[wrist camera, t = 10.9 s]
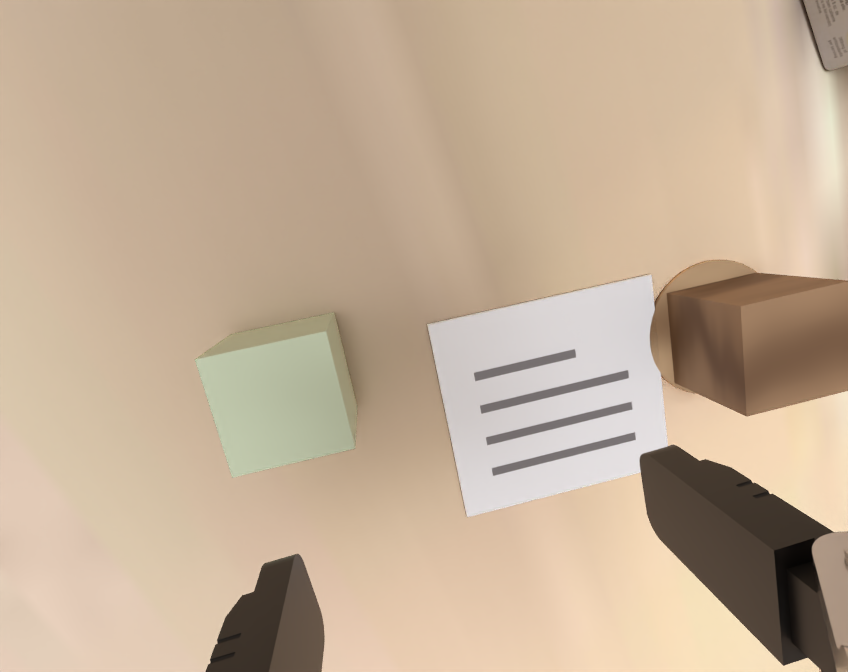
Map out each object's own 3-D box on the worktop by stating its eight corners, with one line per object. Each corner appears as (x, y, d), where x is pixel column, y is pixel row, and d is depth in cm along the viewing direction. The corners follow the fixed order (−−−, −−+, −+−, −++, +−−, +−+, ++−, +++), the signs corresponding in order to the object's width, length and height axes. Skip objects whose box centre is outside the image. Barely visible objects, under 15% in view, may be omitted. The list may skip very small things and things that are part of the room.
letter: (426, 324, 26) (427, 325, 26) (648, 274, 27) (651, 274, 27) (466, 514, 29) (467, 517, 28) (666, 462, 30) (669, 465, 29)
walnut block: (666, 293, 27) (740, 306, 22) (754, 272, 27) (848, 281, 22) (674, 382, 28) (746, 416, 23) (759, 362, 29) (849, 390, 23)
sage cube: (231, 333, 25) (194, 359, 20) (334, 311, 25) (326, 331, 20) (259, 429, 26) (232, 477, 21) (357, 406, 27) (355, 448, 21)
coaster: (640, 276, 27) (643, 276, 27) (769, 247, 28) (773, 247, 27) (653, 405, 29) (656, 407, 28) (774, 375, 29) (778, 377, 29)
